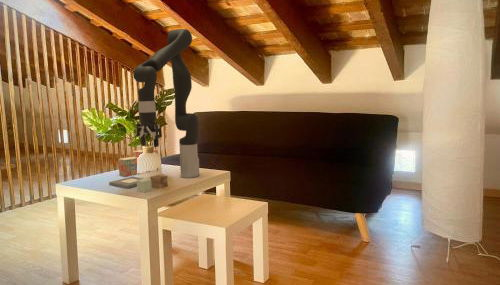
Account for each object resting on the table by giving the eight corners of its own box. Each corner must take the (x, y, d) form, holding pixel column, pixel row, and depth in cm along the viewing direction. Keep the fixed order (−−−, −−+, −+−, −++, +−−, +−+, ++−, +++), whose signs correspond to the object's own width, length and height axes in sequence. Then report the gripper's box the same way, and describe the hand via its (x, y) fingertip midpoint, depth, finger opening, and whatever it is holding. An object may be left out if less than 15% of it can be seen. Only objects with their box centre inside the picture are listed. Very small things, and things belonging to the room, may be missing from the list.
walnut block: (159, 184, 190) (159, 174, 190) (167, 186, 187) (167, 175, 187) (150, 187, 186) (150, 176, 185) (159, 188, 183) (158, 178, 182)
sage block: (145, 189, 182) (144, 178, 182) (151, 190, 180) (151, 179, 179) (137, 191, 179) (136, 180, 178) (143, 192, 176) (143, 181, 176)
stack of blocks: (125, 177, 208) (124, 154, 206) (119, 175, 212) (117, 153, 210) (158, 170, 224) (157, 149, 223) (151, 169, 228) (150, 148, 227)
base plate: (132, 179, 202) (132, 176, 202) (151, 182, 194) (151, 179, 194) (109, 185, 191) (109, 181, 190) (128, 188, 183) (127, 185, 183)
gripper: (164, 110, 178) (166, 146, 180) (143, 110, 186) (145, 144, 188) (151, 112, 172) (154, 148, 174) (130, 111, 180) (133, 146, 182)
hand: (149, 146), depth 181 cm, fingers open, 8 cm apart
